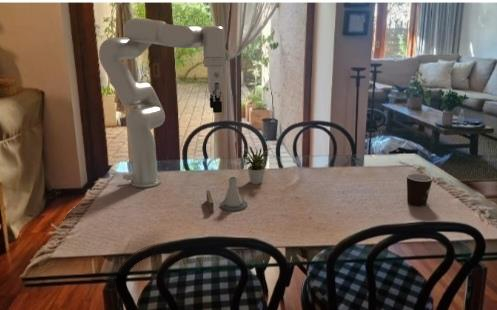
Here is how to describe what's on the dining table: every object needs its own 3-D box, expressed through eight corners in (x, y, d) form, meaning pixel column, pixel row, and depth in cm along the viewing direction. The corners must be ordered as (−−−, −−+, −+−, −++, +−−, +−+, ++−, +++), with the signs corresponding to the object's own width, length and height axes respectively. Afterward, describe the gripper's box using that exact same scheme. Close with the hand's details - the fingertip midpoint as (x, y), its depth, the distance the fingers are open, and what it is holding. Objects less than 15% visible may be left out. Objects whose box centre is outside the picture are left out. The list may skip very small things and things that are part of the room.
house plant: (230, 185, 175) (229, 146, 170) (243, 174, 187) (243, 138, 182) (263, 189, 170) (263, 150, 165) (274, 178, 182) (274, 141, 177)
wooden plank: (210, 213, 148) (209, 202, 147) (206, 200, 159) (206, 190, 158) (213, 213, 148) (213, 202, 147) (210, 200, 160) (209, 190, 158)
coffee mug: (417, 209, 149) (420, 182, 146) (399, 201, 156) (401, 175, 154) (440, 203, 154) (443, 177, 151) (421, 195, 162) (424, 170, 159)
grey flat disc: (222, 212, 149) (221, 210, 149) (218, 201, 158) (218, 200, 158) (249, 209, 151) (249, 208, 150) (244, 199, 160) (244, 197, 160)
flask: (241, 208, 150) (240, 181, 148) (221, 207, 152) (220, 180, 149) (244, 200, 157) (244, 175, 154) (225, 199, 158) (225, 174, 156)
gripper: (228, 64, 143) (229, 114, 148) (221, 60, 159) (222, 105, 164) (206, 64, 142) (208, 115, 147) (201, 61, 158) (203, 106, 163)
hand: (215, 110), depth 156 cm, fingers open, 9 cm apart
